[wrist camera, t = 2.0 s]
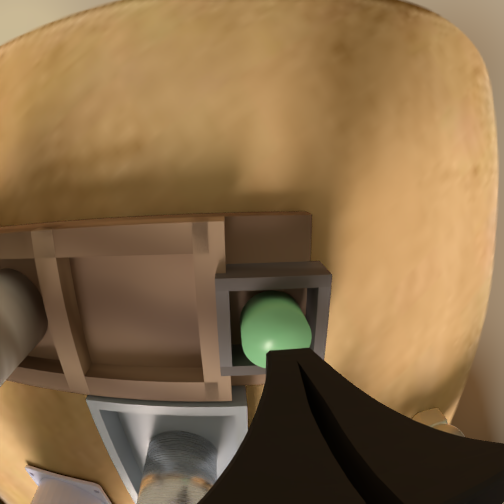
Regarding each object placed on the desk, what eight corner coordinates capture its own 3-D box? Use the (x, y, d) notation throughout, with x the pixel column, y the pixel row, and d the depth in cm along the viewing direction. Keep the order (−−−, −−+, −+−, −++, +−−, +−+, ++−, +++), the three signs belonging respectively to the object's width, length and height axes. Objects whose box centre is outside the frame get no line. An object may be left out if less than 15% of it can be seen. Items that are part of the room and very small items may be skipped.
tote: (248, 491, 19) (250, 516, 17) (144, 489, 19) (140, 511, 16) (244, 376, 16) (247, 406, 14) (99, 373, 16) (85, 399, 13)
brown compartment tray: (305, 369, 16) (343, 468, 10) (-10, 355, 15) (-65, 414, 8) (314, 211, 14) (388, 251, 7) (-41, 231, 13) (-122, 264, 6)
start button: (299, 343, 14) (308, 366, 12) (240, 346, 13) (242, 371, 12) (303, 289, 13) (314, 307, 11) (238, 291, 13) (241, 311, 11)
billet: (219, 470, 18) (220, 543, 12) (156, 468, 17) (145, 537, 12) (214, 431, 17) (213, 513, 11) (142, 428, 16) (123, 506, 10)
